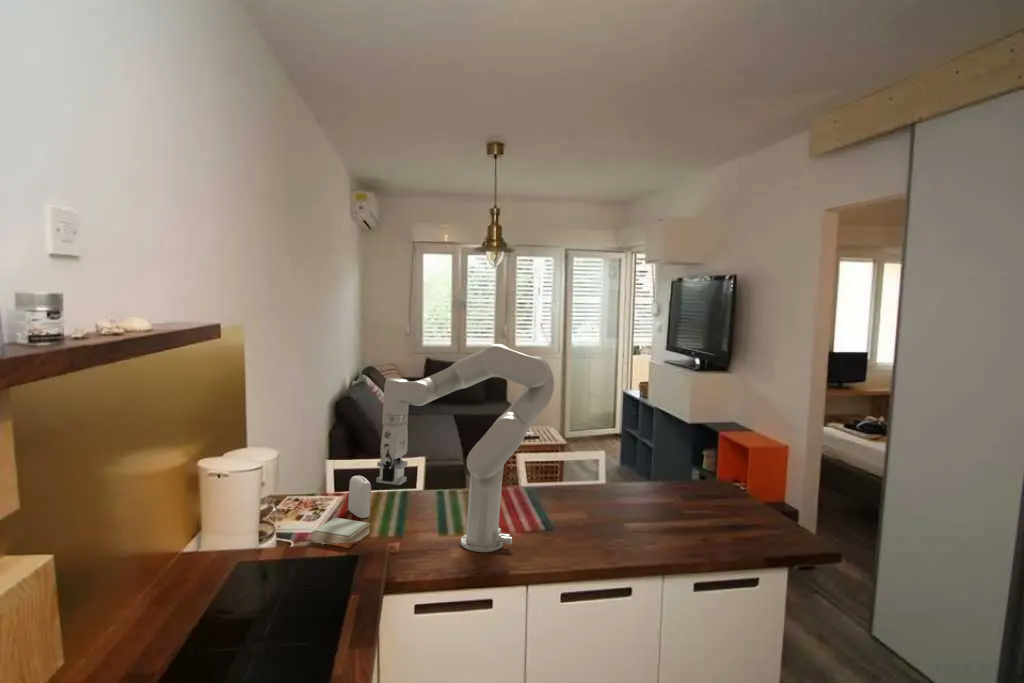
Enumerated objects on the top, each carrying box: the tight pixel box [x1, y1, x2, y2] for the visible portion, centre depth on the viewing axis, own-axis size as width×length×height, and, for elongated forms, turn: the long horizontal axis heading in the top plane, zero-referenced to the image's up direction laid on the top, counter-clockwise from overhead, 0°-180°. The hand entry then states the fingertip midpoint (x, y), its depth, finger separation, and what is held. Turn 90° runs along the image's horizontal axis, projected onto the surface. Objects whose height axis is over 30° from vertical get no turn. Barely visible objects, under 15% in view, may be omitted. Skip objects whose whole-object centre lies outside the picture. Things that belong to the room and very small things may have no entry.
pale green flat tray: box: [310, 517, 371, 545], centre depth 156 cm, size 12×12×3 cm
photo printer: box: [347, 475, 372, 519], centre depth 176 cm, size 10×4×12 cm, turn 39°
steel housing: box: [375, 460, 409, 486], centre depth 161 cm, size 8×5×6 cm, turn 78°
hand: (391, 478), depth 161 cm, fingers closed on steel housing, 5 cm apart
